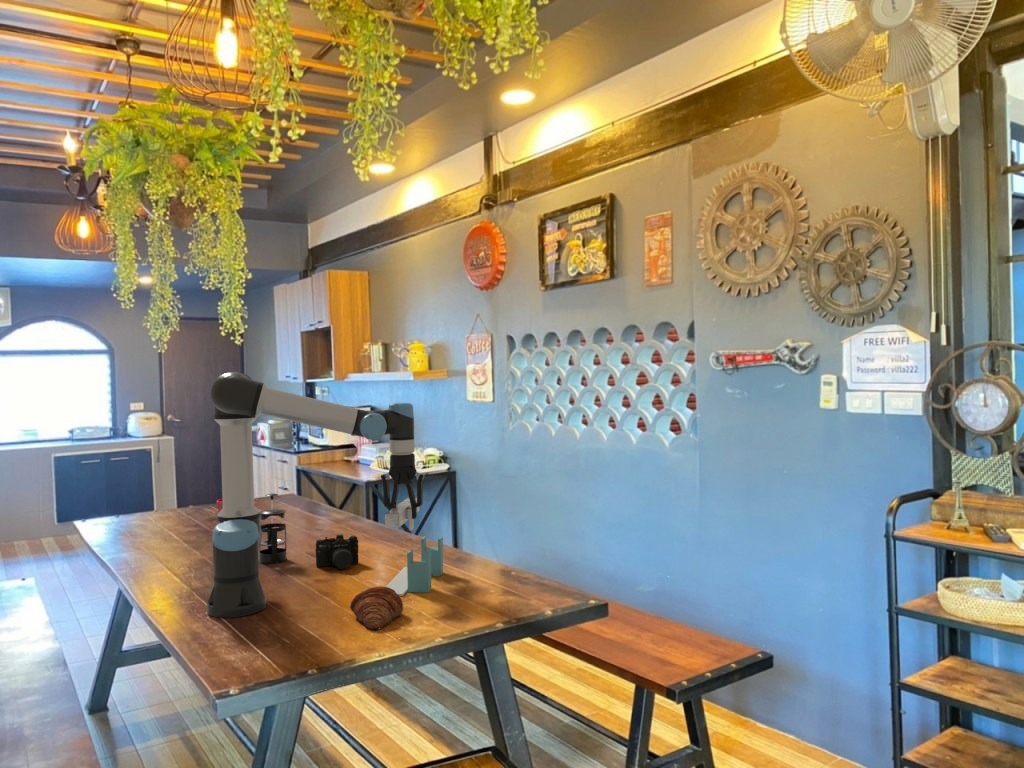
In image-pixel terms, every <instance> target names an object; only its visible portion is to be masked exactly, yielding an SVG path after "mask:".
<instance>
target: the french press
mask: <svg viewBox="0 0 1024 768" xmlns="http://www.w3.org/2000/svg"><path fill="white" fill-rule="evenodd" d="M265 496H266V497H270V500H271V509H266V510H260V521H261V520H262V521H264V520H267V519H268V518H269V517H271V523H265V524H260V527H261V530H262V533H267V534H266V535H267V536H266V537H267V538H266V539H267V540H265V539H264V540H263V541H262V540H261V543H260V545H259V549H258V562H259V563H260V564H263V565H272V564H280V563H281V564H282V563H284V562H287V560H288V556H287V525H286V524H285V523H280V522H279V523H277V522H274V517H277V516H278V517H280V518H281V519H284V518H285V513H286V512H287V510H286V509H279V508H278V509H277V508H275V509H273V508H274V507H273V506H274V505H273V503H274V502H273V500H274V497H277V496H279V494H278V493H267V494H265ZM283 531H284V539H282V538H281V539H280V538H278V532H283ZM281 545H284V547H283V548H282V547H278V546H281ZM261 546H262V547H267V548H264V549H261Z"/></svg>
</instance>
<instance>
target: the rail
mask: <svg viewBox="0 0 1024 768" xmlns="http://www.w3.org/2000/svg"><path fill="white" fill-rule="evenodd" d="M415 499H416V503H417V496H415ZM396 505H397V506H395V507H394V508H392V509H390V510H389V511H387V512H386V513H384V527H385V529H387V528H389V529H391V528H393V529H394V528H401V526H403V525H404V524H405V523H406V522H407V521H409V509H410V508H411V504H410V499H409V496H408V497H407V498H405V499H404V500H402V501H401V502H399V503H397V504H396ZM420 511H421V506H419V507H417V513H418V512H420Z"/></svg>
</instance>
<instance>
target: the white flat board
mask: <svg viewBox="0 0 1024 768" xmlns="http://www.w3.org/2000/svg"><path fill="white" fill-rule="evenodd" d="M385 587H389V588H391V589H393V590H394V591H395V592H396V593H397V594H398V595H399V597H404V596H405V594H406V593H408V577H407V566H403V568H402V569H401V570H400V571H399V572H398V573H397V574H396V575H395V576H394V578H392V579H391V580H390V582H389V583H387V585H385Z"/></svg>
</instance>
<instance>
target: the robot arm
mask: <svg viewBox="0 0 1024 768" xmlns="http://www.w3.org/2000/svg"><path fill="white" fill-rule="evenodd" d="M209 398H210V401H211V403H212V404H213V418H214V421H215V422H216V423H217V424H218V425H219V427H220V428H219V429H220V430H219V432H220V433H219V434H220V456H221V457H220V460H221V462H220V463H221V493H222V499H223V508H222V510H221V511H220V512H218V513H217V524H216V525H215V526H214V528H213V530H212V536H211V542H212V557H213V558H212V565H213V566H212V572H213V573H212V575H213V584H212V588H211V590H210V593H209V597H208V600H207V602H206V603H207V604H206V615H208V616H210V617H214V618H221V619H222V618H226V619H227V618H230V619H231V618H240V617H245V616H249V615H253V614H256V613H259V612H262V611H263V610H264V609H265V608H266V607H267V598H266V594H265V592H264V589H263V587H262V584H261V582H260V577H259V576H260V575H259V573H260V572H259V569H260V568H259V566H260V565H259V545H260V543H261V542H262V540H263V532H262V530H261V527H260V526H261V519H260V511H261V510H260V509H259V508H258V507H256V506H255V492H254V491H255V490H254V489H255V488H254V487H255V486H254V459H253V457H254V456H253V455H254V454H253V433H252V432H253V426H252V425H253V423H254V422H255V421H256V420H257V418H258V417H259V416H261V415H263V416H267V417H271V418H275V419H280V420H285V421H289V422H293V423H299V424H303V425H308V426H312V427H316V428H322V429H325V430H328V431H329V430H330V431H335V432H337V433H338V432H339V433H344V434H348V435H351V436H353V437H360V438H365V439H366V440H370V441H376V440H378V439H381V438H383V437H384V436H385V435H389V452H390V453H391V454H390V455H389V465H390V466H389V467H390V468H389V471H388V472H386V473H383V474H381V475H380V479H381V480H382V481H381V482H382V488H383V503H384V504H383V506H384V507H385V508H389V509H390V510H391V509H392V508H394V507H395V506H397V505H398V502H397V501H398V497H399V492H400V491H399V490H400V486H401V484H403V485H405V487H406V491H407V495H408V497H409V499H410V504H411V508H410V509H409V520H408V523H409V525H408V527H409V528H408V530H409V531H413V530H414V529H415V525H414V524H415V523H414V522H415V520H416V519H417V518H418V512H417V507H419V506H420V507H421V506H422V505H423V504H424V503H423V502H424V501H423V499H424V498H423V497H424V496H423V495H424V493H423V492H424V479H425V476H426V475H425V473H423V472H422V473H421V472H419V471H417V469H416V454H415V453H414V452H415V416H414V405H413V404H412V403H411V402H395V403H394V402H392V403H390V404H389V405H388V408H387V409H383V410H365V409H360V408H355V407H351V406H347V405H344V404H343V405H342V404H339V403H334V402H331V401H326V400H321V399H317V398H314V397H313V398H312V397H308V396H305V395H300V394H296V393H292V392H287V391H284V390H280V389H279V390H278V389H275V388H270V387H269V386H268V385H267V383H266V382H260V381H258V380H254V379H252V377H251V376H250V375H247V374H245V373H243V372H239V371H232V372H229V371H228V372H226V373H223V374H220V375H219V376H217V377H216V378H215V379H214V381H213V382H212V383H211V385H210V388H209ZM415 476H416V478H415ZM390 477H391V479H392V480H393V488H392V494H391V495H390V491H391V490H390ZM414 478H415V479H416V481H417V483H416V486H417V487H416V495H415V490H414V487H413V486H414V485H413V479H414ZM390 496H391V497H390ZM415 497H417V503H416V499H415ZM399 528H400V527H399ZM399 528H393V529H394V530H393V531H398V530H399ZM260 546H261V545H260Z"/></svg>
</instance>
